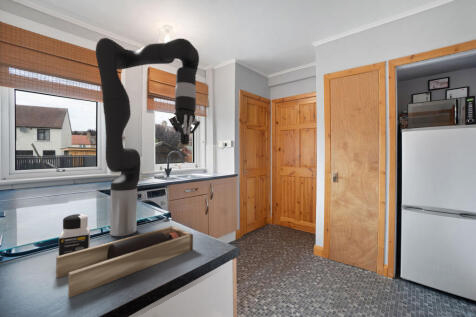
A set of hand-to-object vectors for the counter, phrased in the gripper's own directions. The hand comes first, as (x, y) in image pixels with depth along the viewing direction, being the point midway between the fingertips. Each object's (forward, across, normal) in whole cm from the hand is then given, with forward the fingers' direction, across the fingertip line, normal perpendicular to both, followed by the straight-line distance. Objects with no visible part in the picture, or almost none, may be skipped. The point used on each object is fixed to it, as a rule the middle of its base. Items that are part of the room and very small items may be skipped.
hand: (184, 144), depth 82 cm
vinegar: (+32, +26, +4) cm, 41 cm away
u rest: (+35, +20, +4) cm, 41 cm away
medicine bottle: (+35, +30, -13) cm, 48 cm away
